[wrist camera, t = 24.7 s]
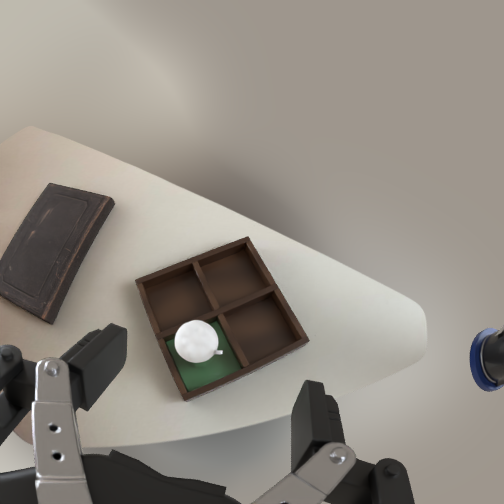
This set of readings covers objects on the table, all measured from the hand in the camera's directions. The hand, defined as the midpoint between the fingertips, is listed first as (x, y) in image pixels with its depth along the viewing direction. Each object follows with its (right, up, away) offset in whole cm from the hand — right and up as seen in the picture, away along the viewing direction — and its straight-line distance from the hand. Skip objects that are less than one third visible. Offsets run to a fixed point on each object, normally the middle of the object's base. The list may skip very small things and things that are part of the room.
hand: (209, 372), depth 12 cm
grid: (-3, -4, +28) cm, 29 cm away
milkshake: (-4, -8, +25) cm, 27 cm away
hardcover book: (-32, +6, +31) cm, 45 cm away
